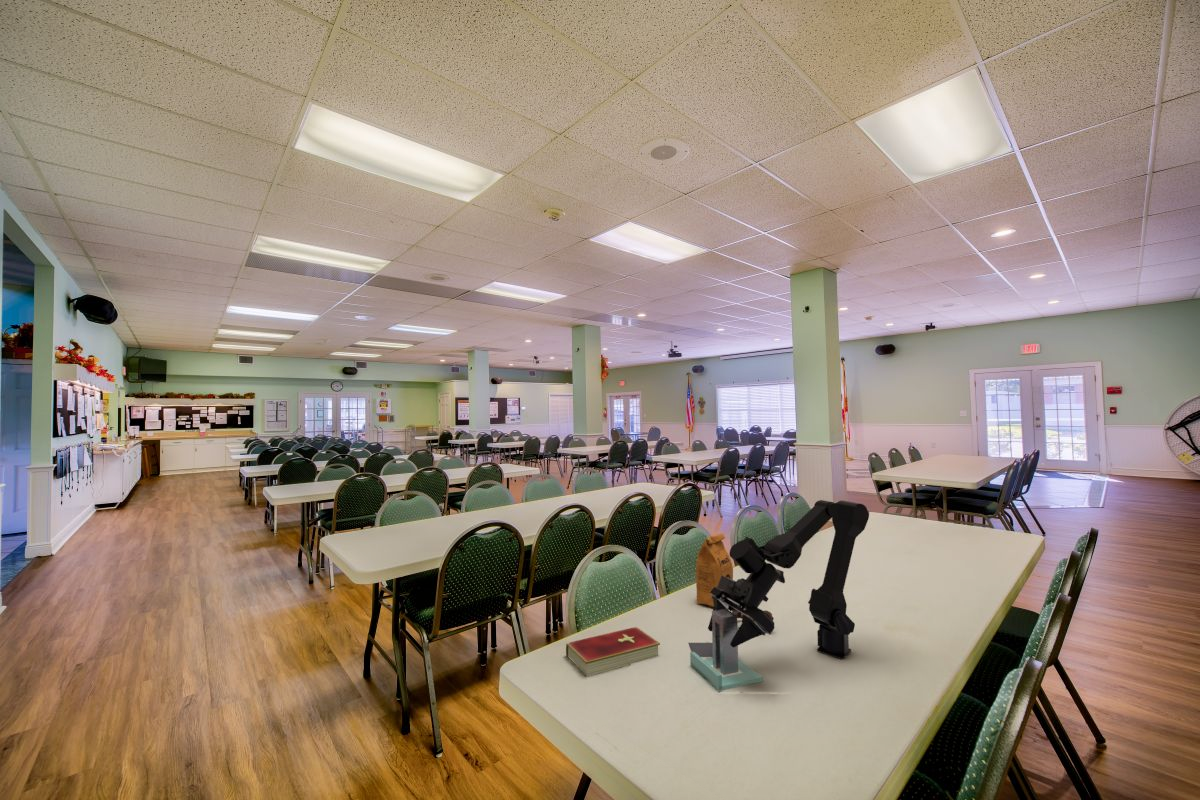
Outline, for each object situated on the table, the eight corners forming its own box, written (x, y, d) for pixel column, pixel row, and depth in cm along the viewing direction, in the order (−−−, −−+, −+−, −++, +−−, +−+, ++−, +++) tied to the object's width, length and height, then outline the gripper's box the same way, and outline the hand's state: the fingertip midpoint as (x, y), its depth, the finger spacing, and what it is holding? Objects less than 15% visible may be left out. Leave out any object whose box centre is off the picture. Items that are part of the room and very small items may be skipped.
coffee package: (738, 601, 163) (737, 534, 164) (718, 611, 155) (716, 541, 156) (713, 594, 171) (712, 530, 172) (692, 603, 162) (691, 536, 163)
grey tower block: (727, 663, 119) (725, 608, 120) (738, 672, 115) (737, 615, 115) (712, 666, 118) (711, 611, 118) (723, 675, 113) (722, 617, 114)
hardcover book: (566, 658, 126) (565, 641, 126) (635, 640, 136) (635, 625, 136) (586, 679, 115) (586, 661, 116) (660, 658, 125) (660, 642, 125)
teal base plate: (732, 658, 124) (731, 644, 124) (763, 682, 113) (762, 666, 113) (690, 667, 120) (690, 652, 120) (718, 692, 108) (718, 675, 109)
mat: (717, 644, 132) (717, 642, 132) (724, 658, 124) (724, 656, 124) (688, 644, 132) (688, 642, 132) (693, 658, 124) (693, 656, 124)
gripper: (715, 554, 127) (679, 603, 123) (762, 575, 110) (721, 632, 106) (741, 581, 130) (706, 630, 125) (791, 606, 112) (752, 663, 108)
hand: (720, 637), depth 116 cm, fingers open, 9 cm apart
